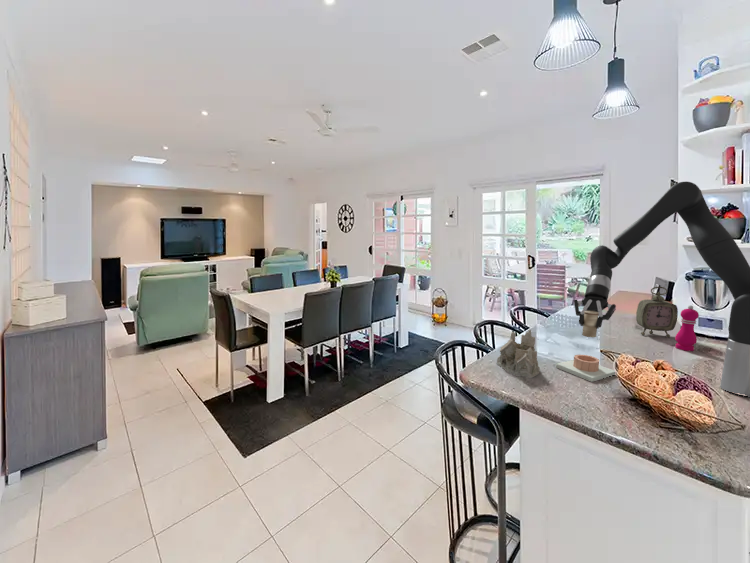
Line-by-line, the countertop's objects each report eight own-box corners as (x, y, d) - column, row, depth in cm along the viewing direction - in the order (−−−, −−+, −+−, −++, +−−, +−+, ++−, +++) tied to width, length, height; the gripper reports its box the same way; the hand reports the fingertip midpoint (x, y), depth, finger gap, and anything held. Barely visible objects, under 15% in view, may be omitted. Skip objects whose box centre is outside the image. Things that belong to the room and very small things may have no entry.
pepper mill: (699, 352, 152) (706, 307, 149) (680, 350, 154) (686, 306, 151) (688, 346, 159) (694, 304, 156) (670, 345, 161) (676, 303, 158)
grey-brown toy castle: (501, 356, 144) (504, 322, 141) (543, 367, 135) (548, 331, 131) (488, 370, 132) (491, 333, 129) (533, 384, 123) (538, 344, 119)
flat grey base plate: (616, 375, 127) (617, 362, 126) (591, 381, 121) (593, 368, 121) (579, 361, 140) (581, 350, 139) (556, 367, 134) (557, 355, 133)
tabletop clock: (639, 336, 175) (646, 287, 171) (632, 331, 184) (638, 284, 180) (674, 338, 171) (681, 288, 167) (665, 333, 180) (671, 286, 176)
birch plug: (599, 336, 127) (601, 312, 126) (591, 338, 126) (593, 313, 124) (587, 333, 132) (589, 310, 130) (579, 334, 130) (581, 311, 128)
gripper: (576, 281, 136) (566, 317, 129) (620, 285, 127) (612, 324, 119) (577, 292, 141) (568, 327, 133) (620, 297, 132) (612, 335, 124)
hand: (589, 325), depth 126 cm, fingers closed on birch plug, 4 cm apart
